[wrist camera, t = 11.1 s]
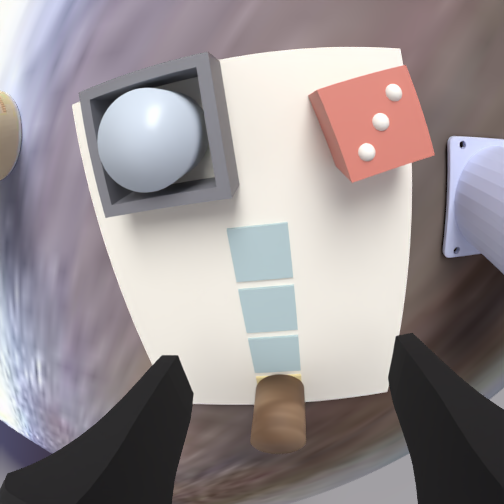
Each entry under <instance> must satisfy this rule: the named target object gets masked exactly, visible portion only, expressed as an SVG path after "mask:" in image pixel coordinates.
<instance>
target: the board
mask: <svg viewBox="0 0 504 504" xmlns="http://www.w3.org/2000/svg"><path fill="white" fill-rule="evenodd" d="M398 66H403V62H402V56H401V50H400V49H396V48H376V47H328V48H308V49H295V50H284V51H274V52H266V53H258V54H251V55H244V56H238V57H232V58H227V59H221V60H217V59H216V58H215V57H214V56H213V55H211V54H210V53H209V52H205V53H200V54H196V55H191V56H187V57H183V58H179V59H175V60H172V61H168V62H164V63H161V64H157V65H154V66H151V67H147V68H144V69H141V70H138V71H135V72H132V73H129V74H126V75H123V76H120V77H117V78H115V79H112V80H109V81H107V82H104V83H101V84H99V85H96V86H94V87H91V88H89V89H86V90H84V91H82V92H79V98H80V102H78V103H75V104H73V105H72V108H73V114H74V120H75V126H76V131H77V137H78V142H79V147H80V151H81V156H82V161H83V165H84V170H85V174H86V178H87V182H88V186H89V190H90V194H91V198H92V201H93V205H94V209H95V212H96V216H97V219H98V223H99V226H100V229H101V233H102V236H103V239H104V242H105V246H106V249H107V252H108V255H109V258H110V261H111V264H112V267H113V269H114V272H115V275H116V278H117V281H118V283H119V286H120V289H121V292H122V294H123V297H124V299H125V302H126V305H127V307H128V310H129V312H130V315H131V317H132V320H133V322H134V324H135V327H136V329H137V332H138V334H139V336H140V338H141V341H142V343H143V345H144V348H145V350H146V352H147V354H148V356H149V359H150V361H151V363H152V365H153V364H154V363H155V362H156V361H157V360H158V359H159V358H160V357H161V355H178V356H179V359H180V362H181V364H182V367H183V369H184V372H185V374H186V376H187V379H188V381H189V384H190V386H191V388H192V391H193V393H194V396H193V404H220V405H252V404H254V403H255V393H256V386H257V384H258V382H259V381H260V380H262V379H263V378H265V377H268V376H271V375H276V374H284V375H290V376H293V377H295V378H297V379H299V380H300V381H301V382H302V383H303V385H304V394H305V402H312V401H323V400H333V399H341V398H349V397H357V396H364V395H371V394H377V393H383V392H387V391H388V386H389V381H388V374H389V370H390V365H391V360H392V354H393V349H394V343H395V337H396V336H399V333H400V327H401V320H402V314H403V307H404V299H405V291H406V283H407V273H408V263H409V250H410V235H411V212H412V163H409V164H406V165H403V166H400V167H397V168H394V169H391V170H388V171H385V172H382V173H379V174H376V175H374V176H371V177H368V178H365V179H362V180H359V181H356V182H353V183H352V182H351V181H350V180H349V179H348V178H347V177H346V176H345V175H344V174H343V173H342V172H341V171H340V170H339V169H338V168H337V167H336V166H335V163H334V160H333V157H332V155H331V152H330V149H329V147H328V144H327V141H326V139H325V136H324V134H323V131H322V129H321V126H320V124H319V121H318V119H317V116H316V114H315V111H314V109H313V107H312V104H311V102H310V99H309V97H308V95H310V94H311V93H313V92H314V91H316V90H318V89H321V88H324V87H327V86H330V85H333V84H336V83H339V82H343V81H346V80H349V79H353V78H356V77H360V76H363V75H367V74H371V73H374V72H378V71H382V70H386V69H390V68H394V67H398ZM139 88H156V89H163V90H169V91H175V92H180V93H183V94H185V95H187V96H189V97H191V98H192V99H193V100H195V101H196V102H197V103H198V104H199V105H200V107H201V108H202V109H203V111H204V117H205V123H206V129H207V135H208V141H209V143H208V147H207V150H206V152H205V155H204V156H203V158H202V160H201V161H200V162H199V163H198V165H197V166H196V167H195V168H193V169H192V170H191V171H189V172H188V173H187V174H185V175H184V176H182V177H181V178H179V179H178V180H177V181H175V182H174V183H172V184H171V185H169V186H167V187H166V188H164V189H161V190H159V191H155V192H148V193H143V192H135V191H132V190H129V189H126V188H124V187H122V186H121V185H119V184H118V183H117V182H115V181H114V180H113V179H112V178H111V177H110V176H109V174H108V173H107V171H106V170H105V168H104V166H103V164H102V162H101V159H100V156H99V152H98V143H97V139H98V130H99V126H100V123H101V120H102V118H103V116H104V114H105V112H106V111H107V109H108V108H109V107H110V105H111V104H112V103H113V102H114V101H115V100H116V99H117V98H119V97H120V96H121V95H123V94H125V93H127V92H129V91H132V90H135V89H139Z"/></svg>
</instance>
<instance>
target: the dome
mask: <svg viewBox="0 0 504 504" xmlns="http://www.w3.org/2000/svg"><path fill="white" fill-rule="evenodd" d="M97 143H98V152H99V156H100V159H101V162H102V164H103V166H104V168H105V170H106V171H107V173H108V174H109V176H110V177H111V178H112V179H113V180H114V181H115V182H117V183H118V184H119V185H121V186H122V187H124V188H126V189H129V190H132V191H135V192H143V193H148V192H155V191H159V190H161V189H164V188H166V187H167V186H169V185H171V184H172V183H174V182H175V181H177V180H178V179H179V178H181V177H182V176H184V175H185V174H187V173H188V172H189V171H191V170H192V169H193V168H195V167H196V166H197V165H198V163H199V162H200V161H201V160H202V158H203V156H204V155H205V152H206V150H207V147H208V143H209V141H208V135H207V129H206V123H205V117H204V111H203V109H202V108H201V107H200V105H199V104H198V103H197V102H196V101H195V100H193V99H192V98H191V97H189V96H187V95H185V94H183V93H180V92H175V91H169V90H163V89H156V88H139V89H135V90H132V91H129V92H127V93H125V94H123V95H121V96H120V97H119V98H117V99H116V100H115V101H114V102H113V103H112V104H111V105H110V107H109V108H108V109H107V111H106V112H105V114H104V116H103V118H102V120H101V123H100V126H99V130H98V139H97Z"/></svg>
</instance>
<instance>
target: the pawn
mask: <svg viewBox="0 0 504 504" xmlns="http://www.w3.org/2000/svg"><path fill="white" fill-rule="evenodd" d="M250 442H251V444H252V446H253V447H254V448H256V449H257V450H259V451H262V452H265V453H271V454H286V453H291V452H295V451H297V450H299V449H301V448H302V447H303V446H304V445H305V444H306V422H305V394H304V385H303V383H302V382H301V381H300V380H299V379H297V378H295V377H293V376H290V375H284V374H276V375H271V376H268V377H265V378H263V379H262V380H260V381H259V382H258V384H257V386H256V393H255V403H254V412H253V421H252V430H251V439H250Z"/></svg>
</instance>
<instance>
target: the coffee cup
mask: <svg viewBox="0 0 504 504" xmlns="http://www.w3.org/2000/svg"><path fill="white" fill-rule="evenodd" d="M21 137H22V127H21V118H20V114H19V110H18V107H17V105H16V103H15V101H14V99H13V98H12V97H11V96H10V95H9V94H8V93H6V92H4V91H0V180H2V179H4V178H5V177H6V176H7V175H9V173H10V172H11V171H12V169H13V168H14V166H15V164H16V161H17V159H18V156H19V152H20V146H21Z"/></svg>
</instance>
